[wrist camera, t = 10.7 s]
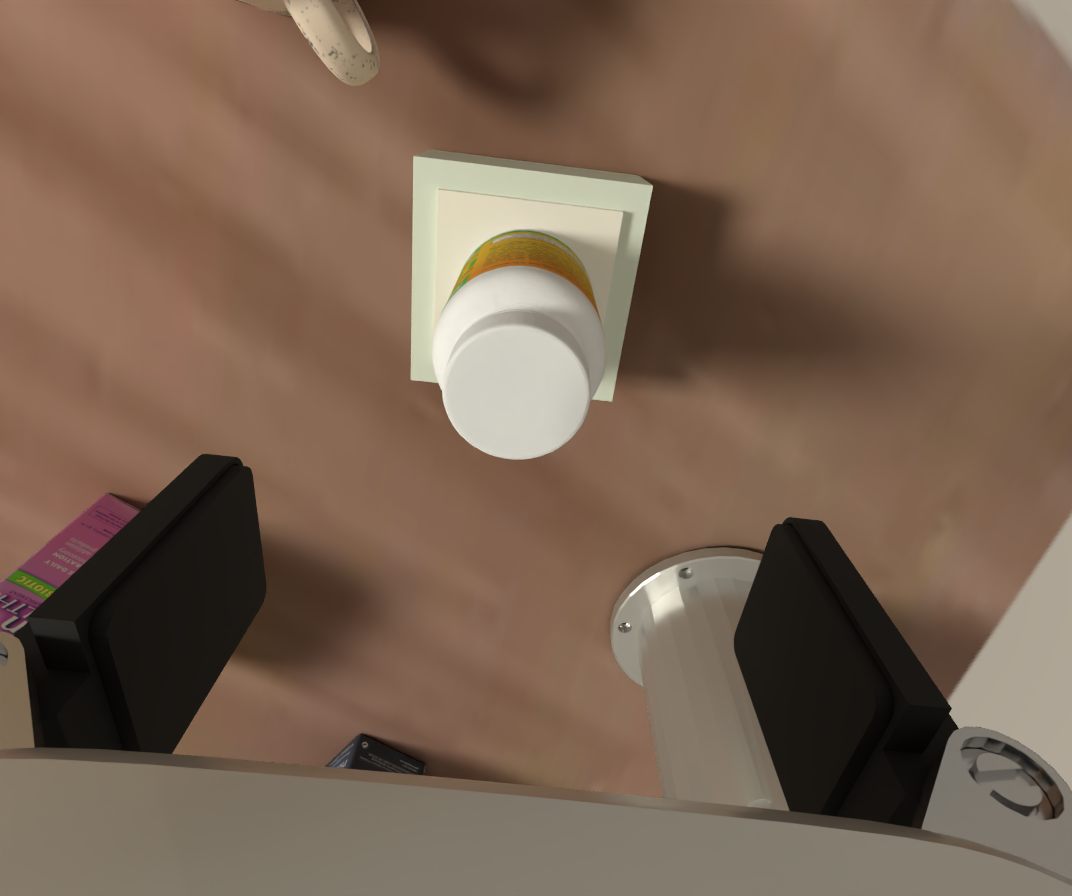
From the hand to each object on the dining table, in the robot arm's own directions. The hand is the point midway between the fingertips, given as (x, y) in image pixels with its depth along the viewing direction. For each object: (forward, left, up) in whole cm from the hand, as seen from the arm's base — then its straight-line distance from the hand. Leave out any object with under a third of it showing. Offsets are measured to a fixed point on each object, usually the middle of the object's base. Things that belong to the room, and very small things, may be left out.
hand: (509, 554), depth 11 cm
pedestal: (0, 0, -20) cm, 20 cm away
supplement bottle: (0, 0, -16) cm, 16 cm away
